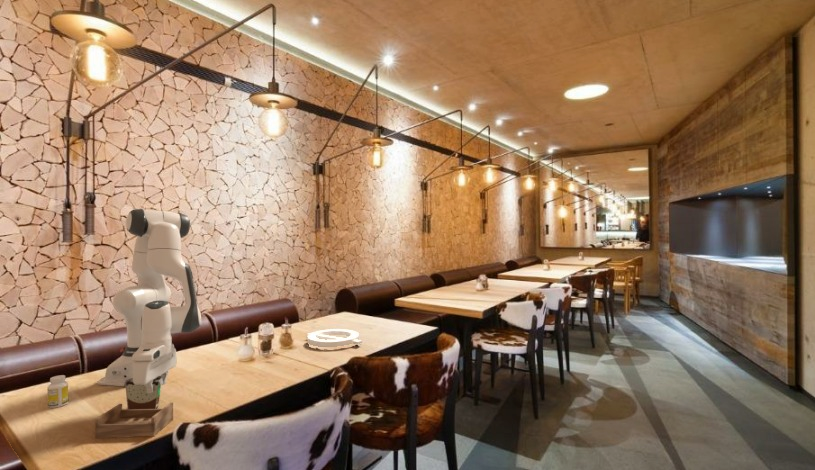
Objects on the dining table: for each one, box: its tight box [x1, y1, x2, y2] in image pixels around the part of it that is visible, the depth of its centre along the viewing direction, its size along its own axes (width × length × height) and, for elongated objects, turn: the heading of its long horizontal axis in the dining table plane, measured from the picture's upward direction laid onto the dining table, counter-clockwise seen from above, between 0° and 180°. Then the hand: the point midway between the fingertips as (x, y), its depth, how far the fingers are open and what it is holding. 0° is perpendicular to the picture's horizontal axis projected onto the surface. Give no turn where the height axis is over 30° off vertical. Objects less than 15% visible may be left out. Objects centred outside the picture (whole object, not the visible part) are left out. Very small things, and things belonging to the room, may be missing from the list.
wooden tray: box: [94, 402, 174, 439], centre depth 120 cm, size 10×17×6 cm, turn 93°
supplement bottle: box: [46, 374, 69, 409], centre depth 136 cm, size 5×5×10 cm
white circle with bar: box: [306, 328, 363, 347], centre depth 216 cm, size 28×28×5 cm
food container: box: [123, 376, 164, 410], centre depth 135 cm, size 12×6×10 cm, turn 92°
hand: (156, 388), depth 135 cm, fingers closed on food container, 6 cm apart
